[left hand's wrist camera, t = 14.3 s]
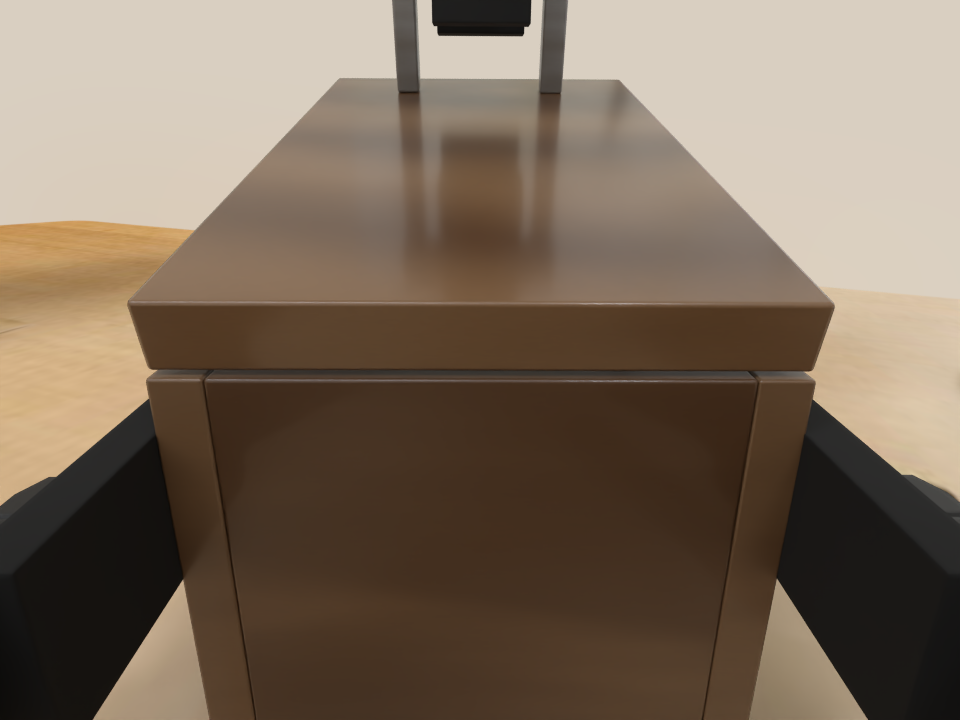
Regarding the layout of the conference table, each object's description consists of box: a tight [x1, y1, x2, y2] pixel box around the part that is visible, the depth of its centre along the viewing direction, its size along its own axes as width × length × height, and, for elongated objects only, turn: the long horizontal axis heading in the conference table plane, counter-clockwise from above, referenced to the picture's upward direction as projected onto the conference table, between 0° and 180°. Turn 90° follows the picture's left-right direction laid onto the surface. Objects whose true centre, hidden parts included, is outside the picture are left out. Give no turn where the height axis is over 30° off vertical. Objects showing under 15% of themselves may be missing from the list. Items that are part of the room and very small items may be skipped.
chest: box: [146, 370, 816, 720], centre depth 19 cm, size 16×10×9 cm, turn 0°
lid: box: [128, 0, 834, 371], centre depth 14 cm, size 17×10×8 cm, turn 0°
